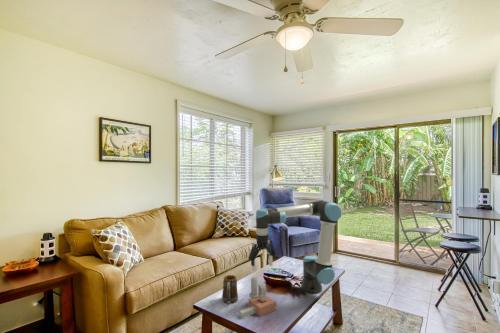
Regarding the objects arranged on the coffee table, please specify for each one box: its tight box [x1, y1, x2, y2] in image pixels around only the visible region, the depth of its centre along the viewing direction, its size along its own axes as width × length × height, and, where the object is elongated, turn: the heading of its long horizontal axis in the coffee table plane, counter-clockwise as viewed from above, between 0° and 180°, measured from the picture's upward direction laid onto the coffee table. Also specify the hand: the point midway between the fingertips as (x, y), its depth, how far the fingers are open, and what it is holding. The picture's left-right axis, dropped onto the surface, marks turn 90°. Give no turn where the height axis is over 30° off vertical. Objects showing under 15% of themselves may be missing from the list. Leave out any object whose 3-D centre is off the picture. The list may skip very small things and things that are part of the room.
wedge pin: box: [257, 282, 267, 304], centre depth 160 cm, size 4×3×15 cm
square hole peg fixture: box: [238, 276, 277, 319], centre depth 160 cm, size 22×17×16 cm
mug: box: [221, 274, 239, 305], centre depth 169 cm, size 16×11×15 cm
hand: (262, 268), depth 162 cm, fingers open, 13 cm apart
